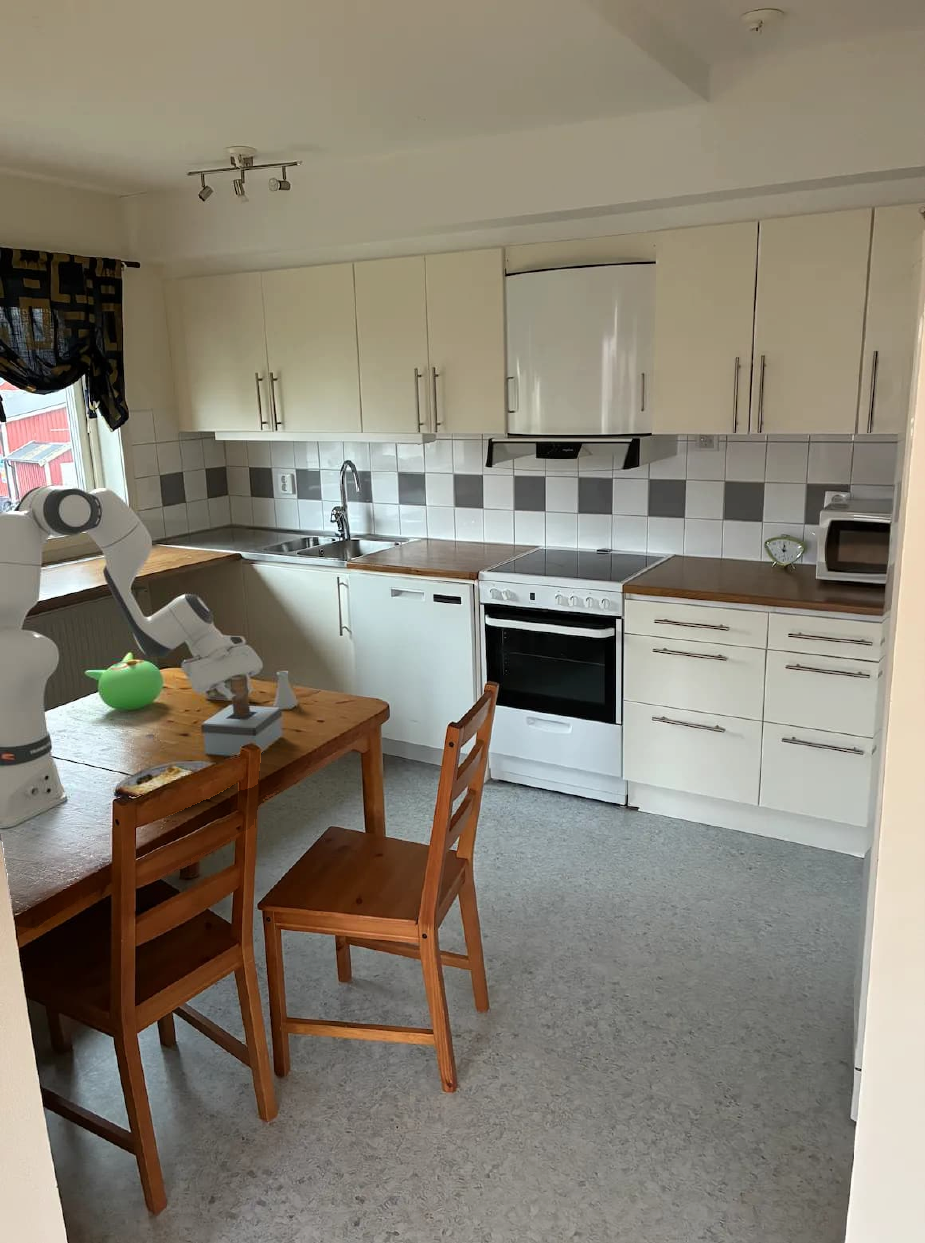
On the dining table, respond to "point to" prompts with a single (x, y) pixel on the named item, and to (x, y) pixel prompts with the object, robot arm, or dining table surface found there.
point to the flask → (284, 693)
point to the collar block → (241, 730)
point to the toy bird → (128, 683)
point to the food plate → (156, 777)
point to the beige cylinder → (240, 696)
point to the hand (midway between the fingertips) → (241, 695)
